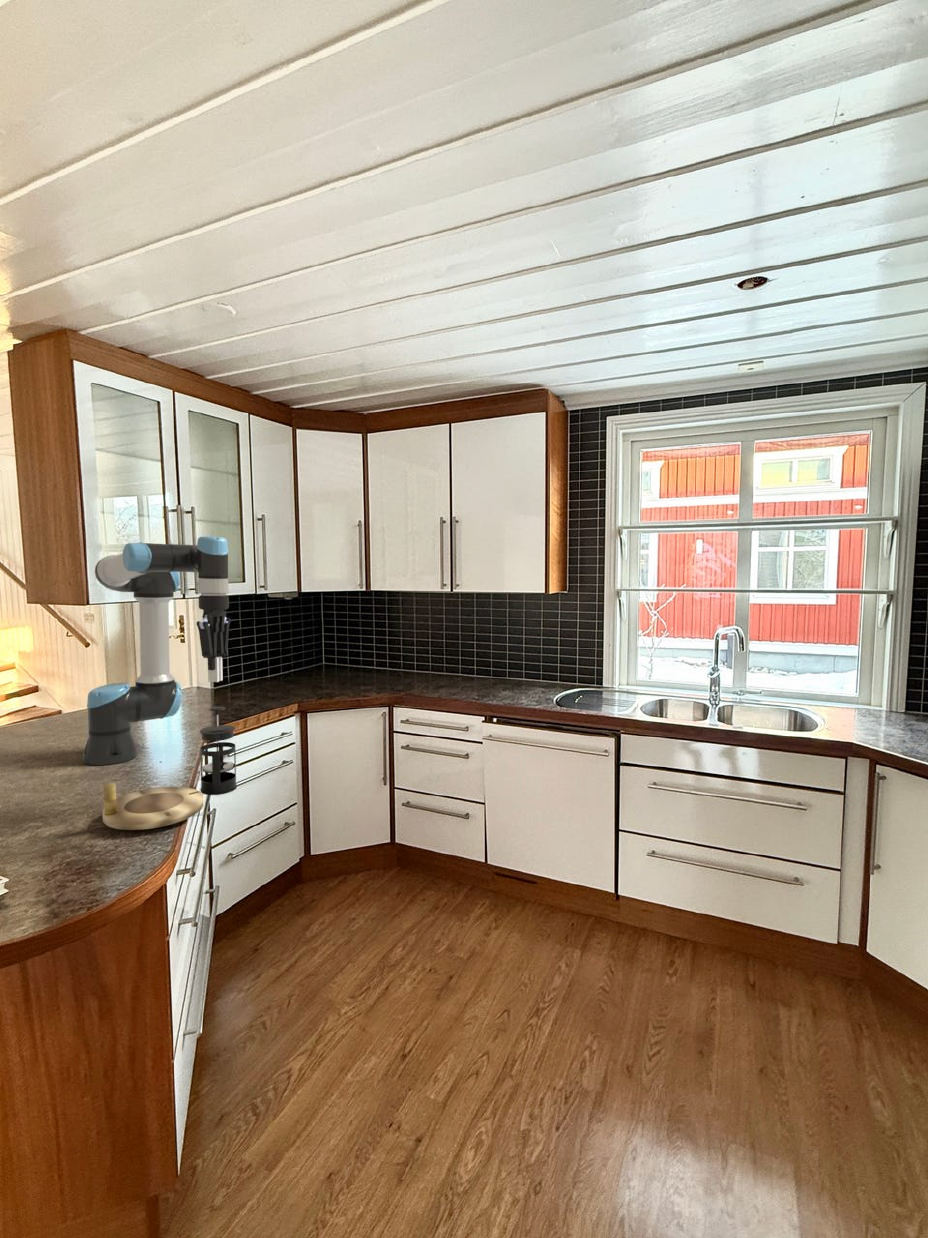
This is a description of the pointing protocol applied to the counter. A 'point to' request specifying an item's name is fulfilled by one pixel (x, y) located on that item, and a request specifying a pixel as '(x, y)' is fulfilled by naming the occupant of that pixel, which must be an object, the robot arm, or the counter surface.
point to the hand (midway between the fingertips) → (215, 680)
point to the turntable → (150, 807)
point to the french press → (218, 759)
